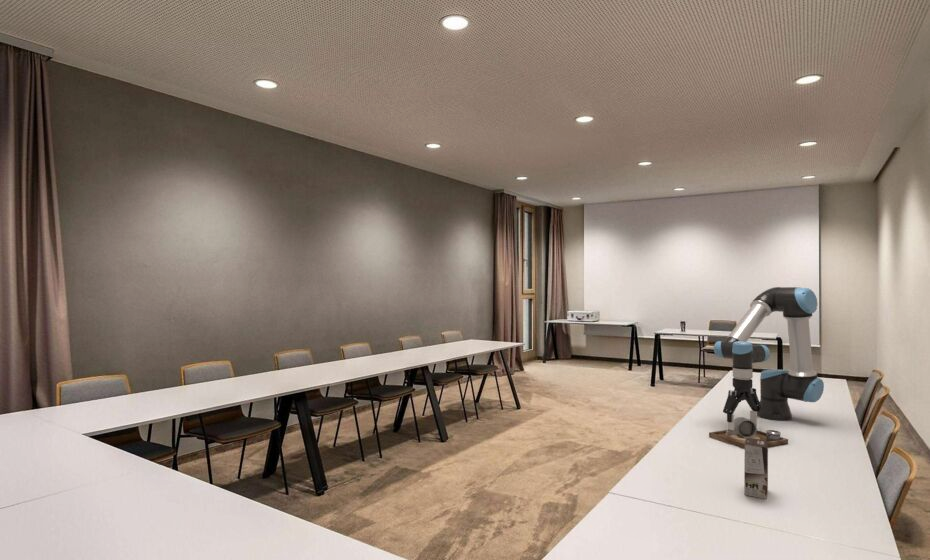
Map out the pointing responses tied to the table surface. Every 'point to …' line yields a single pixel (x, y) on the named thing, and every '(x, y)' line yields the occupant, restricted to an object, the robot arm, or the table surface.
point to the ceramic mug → (743, 428)
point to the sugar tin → (772, 435)
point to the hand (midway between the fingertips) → (742, 428)
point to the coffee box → (756, 468)
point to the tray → (740, 440)
